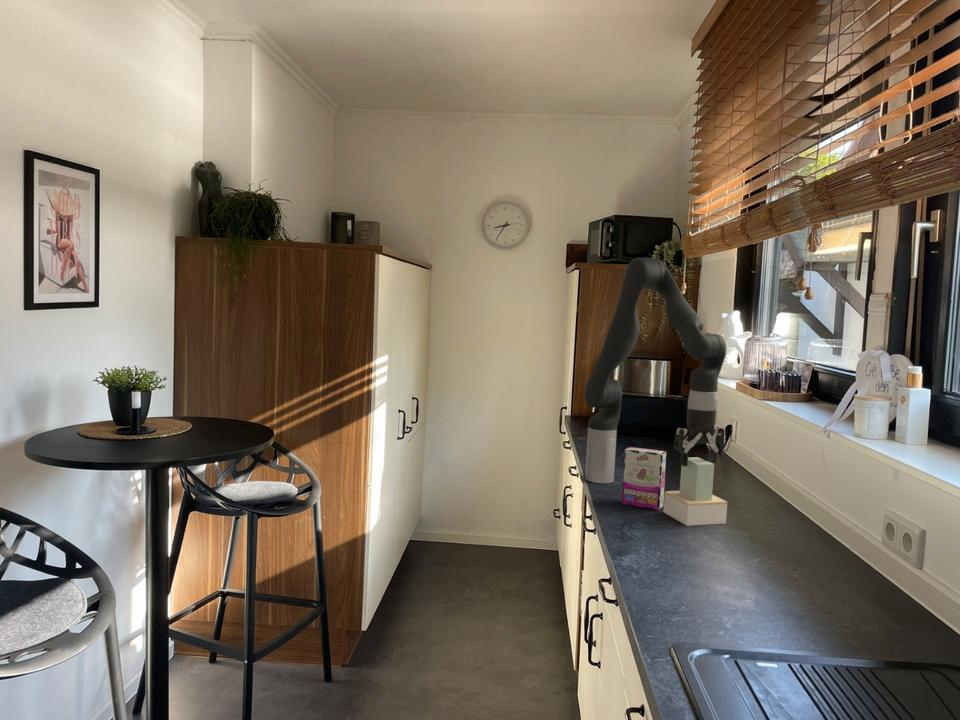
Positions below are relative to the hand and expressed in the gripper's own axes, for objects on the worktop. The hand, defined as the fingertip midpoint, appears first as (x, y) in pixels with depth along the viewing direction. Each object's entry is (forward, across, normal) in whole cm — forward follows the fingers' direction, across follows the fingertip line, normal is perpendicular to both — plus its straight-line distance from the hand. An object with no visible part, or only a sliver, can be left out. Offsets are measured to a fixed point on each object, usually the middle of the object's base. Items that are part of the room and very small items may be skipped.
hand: (697, 465), depth 202 cm
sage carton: (+9, 0, 0) cm, 9 cm away
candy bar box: (+15, +9, -13) cm, 22 cm away
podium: (+15, 0, 0) cm, 15 cm away
